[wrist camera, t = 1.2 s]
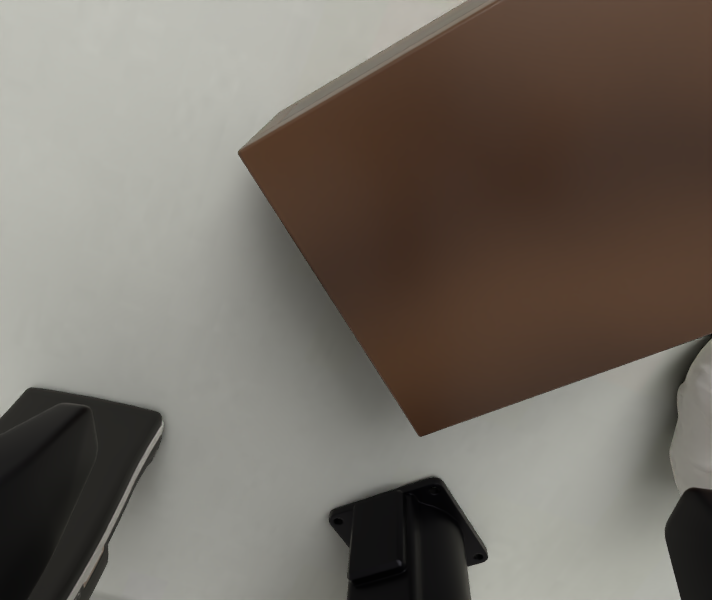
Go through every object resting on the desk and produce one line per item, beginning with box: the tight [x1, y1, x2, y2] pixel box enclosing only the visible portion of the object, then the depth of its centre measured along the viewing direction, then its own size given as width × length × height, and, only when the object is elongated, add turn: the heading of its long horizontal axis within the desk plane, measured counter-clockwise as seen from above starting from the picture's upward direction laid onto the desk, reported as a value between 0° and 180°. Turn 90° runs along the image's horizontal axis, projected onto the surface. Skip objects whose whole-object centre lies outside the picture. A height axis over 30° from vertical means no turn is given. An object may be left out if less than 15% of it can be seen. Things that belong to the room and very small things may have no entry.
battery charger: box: [0, 387, 164, 600], centre depth 22 cm, size 7×4×11 cm, turn 79°
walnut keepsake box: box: [238, 0, 712, 437], centre depth 17 cm, size 11×15×6 cm
